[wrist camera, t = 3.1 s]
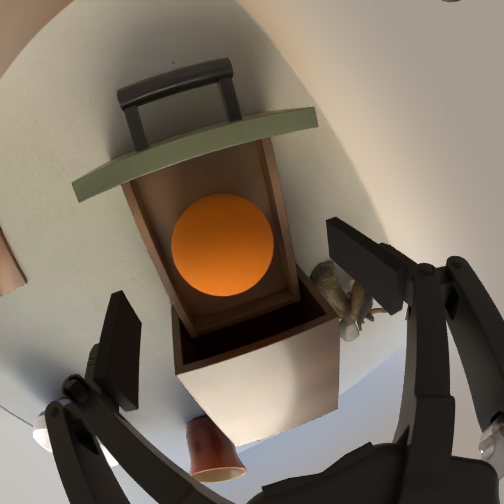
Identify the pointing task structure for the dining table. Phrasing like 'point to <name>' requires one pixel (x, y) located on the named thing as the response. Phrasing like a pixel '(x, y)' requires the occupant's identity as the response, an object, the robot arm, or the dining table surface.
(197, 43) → the dining table surface
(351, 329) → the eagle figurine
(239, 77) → the dining table surface
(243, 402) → the cabinet
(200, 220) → the orange
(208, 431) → the mug
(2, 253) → the coaster
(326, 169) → the dining table surface
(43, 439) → the bowl
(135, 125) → the drawer
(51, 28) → the dining table surface
